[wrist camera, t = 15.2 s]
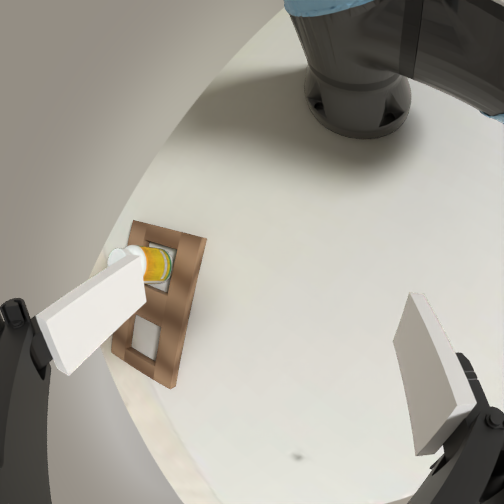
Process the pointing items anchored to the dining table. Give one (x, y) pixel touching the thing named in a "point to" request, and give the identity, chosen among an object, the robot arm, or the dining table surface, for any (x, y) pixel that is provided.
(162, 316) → the rail
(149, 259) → the supplement bottle
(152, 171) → the dining table surface
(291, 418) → the dining table surface
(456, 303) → the dining table surface
